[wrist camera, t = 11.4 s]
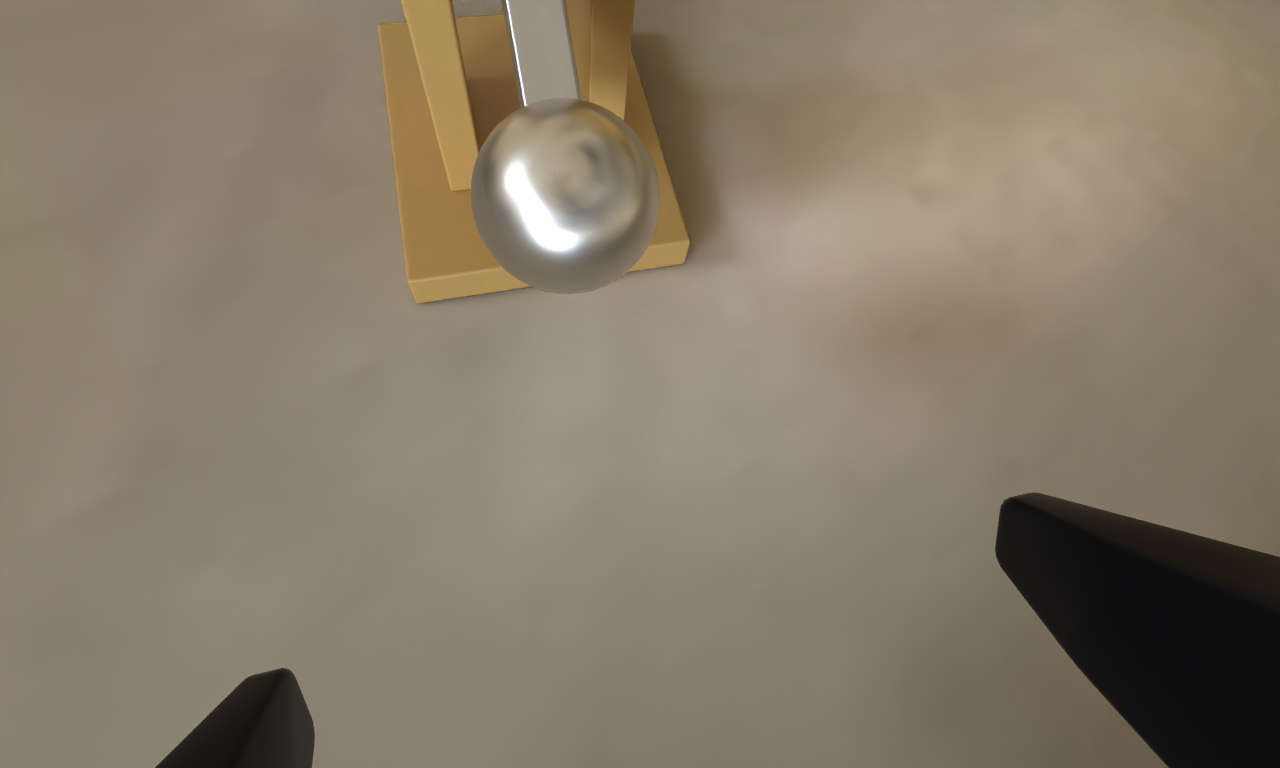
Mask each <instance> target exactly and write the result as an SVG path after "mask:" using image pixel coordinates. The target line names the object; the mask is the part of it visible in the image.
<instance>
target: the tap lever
mask: <svg viewBox="0 0 1280 768" xmlns="http://www.w3.org/2000/svg"><path fill="white" fill-rule="evenodd" d="M501 2H502V7H503V13H504V19H505V24H506V30H507V36H508V41H509V47H510V53H511V58H512V64H513V70H514V75H515V81H516V87H517V93H518V98H519V104H520V109H518V110H516V111H515V112H513V113H512V114H510V115H509V116H507V117H506V118H505V119H504V120H503V121H501V122H500V123H499V124H498V125H497V126H496V127H495V129H494V130H493V131H492V132H491V133H490V135H489V136H488V138H487V139H486V141H485V142H484V144H483V146H482V147H481V150H480V152H479V154H478V156H477V158H476V161H475V165H474V168H473V172H472V179H471V207H472V213H473V217H474V221H475V225H476V228H477V230H478V233H479V235H480V237H481V239H482V241H483V243H484V245H485V246H486V248H487V249H488V251H489V252H490V253H491V255H492V256H493V258H494V259H495V260H496V261H497V262H498V263H499V264H500V265H501V266H502V267H503V268H504V269H505V270H506V271H507V272H509V273H510V274H511V275H512V276H514V277H515V278H517V279H518V280H520V281H522V282H523V283H525V284H527V285H530V286H532V287H534V288H537V289H540V290H543V291H547V292H552V293H558V294H576V293H584V292H588V291H593V290H596V289H599V288H601V287H604V286H607V285H608V284H610V283H612V282H614V281H616V280H617V279H619V278H620V277H622V276H623V275H624V274H626V273H627V272H628V271H629V270H630V269H631V268H632V267H633V266H634V265H635V264H636V263H637V262H638V260H639V259H640V258H641V257H642V255H643V254H644V252H645V250H646V249H647V247H648V246H649V244H650V242H651V239H652V237H653V235H654V233H655V229H656V226H657V222H658V217H659V210H660V188H659V180H658V176H657V172H656V168H655V166H654V163H653V160H652V158H651V156H650V154H649V152H648V150H647V148H646V146H645V145H644V143H643V142H642V140H641V139H640V137H639V136H638V135H637V134H636V132H635V131H634V130H633V129H632V128H631V127H630V126H629V125H628V124H627V123H626V122H625V121H624V120H623V119H621V118H620V117H618V116H617V115H616V114H614V113H613V112H611V111H609V110H607V109H606V108H604V107H602V106H599V105H597V104H594V103H591V102H588V101H584V100H582V98H581V92H580V86H579V80H578V74H577V68H576V62H575V56H574V51H573V45H572V39H571V33H570V27H569V21H568V15H567V9H566V3H565V0H501Z"/></svg>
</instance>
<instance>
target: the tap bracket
mask: <svg viewBox="0 0 1280 768" xmlns="http://www.w3.org/2000/svg"><path fill="white" fill-rule="evenodd" d="M401 3H402V7H403V11H404V14H405V18H406V22H396V23H383V24H379V26H378V30H379V39H380V47H381V56H382V65H383V74H384V82H385V91H386V100H387V109H388V117H389V126H390V135H391V143H392V152H393V161H394V170H395V178H396V187H397V196H398V205H399V213H400V222H401V231H402V240H403V248H404V257H405V266H406V275H407V282H408V284H409V286H410V289H411V291H412V293H413V296H414V298H415V300H416V302H417V303H425V302H431V301H438V300H445V299H451V298H458V297H465V296H471V295H478V294H485V293H491V292H498V291H505V290H511V289H518V288H525V287H531V286H530V285H527V284H525V283H523V282H522V281H520V280H518V279H517V278H515V277H514V276H512V275H511V274H510V273H509V272H507V271H506V270H505V269H504V268H503V267H502V266H501V265H500V264H499V263H498V262H497V261H496V260H495V259H494V258H493V256H492V255H491V253H490V252H489V251H488V249H487V248H486V246H485V245H484V243H483V241H482V239H481V237H480V235H479V233H478V230H477V228H476V225H475V221H474V217H473V213H472V207H471V179H472V172H473V168H474V165H475V161H476V158H477V156H478V154H479V152H480V150H481V147H482V146H483V144H484V142H485V141H486V139H487V138H488V136H489V135H490V133H491V132H492V131H493V130H494V129H495V127H496V126H497V125H498V124H499V123H500V122H501V121H503V120H504V119H505V118H506V117H507V116H509V115H510V114H512V113H513V112H515V111H516V110H518V109H520V104H519V98H518V93H517V87H516V81H515V75H514V70H513V64H512V58H511V53H510V47H509V41H508V36H507V30H506V24H505V19H504V14H499V15H486V16H473V17H460V18H455V14H454V8H453V3H452V0H401ZM565 3H566V9H567V15H568V21H569V27H570V33H571V39H572V45H573V51H574V56H575V62H576V68H577V74H578V80H579V86H580V92H581V98H582V100H584V101H588V102H591V103H594V104H597V105H599V106H602V107H604V108H606V109H607V110H609V111H611V112H613V113H614V114H616V115H617V116H618V117H620V118H621V119H623V120H624V121H625V122H626V123H627V124H628V125H629V126H630V127H631V128H632V129H633V130H634V131H635V132H636V134H637V135H638V136H639V137H640V139H641V140H642V142H643V143H644V145H645V146H646V148H647V150H648V152H649V154H650V156H651V158H652V160H653V163H654V166H655V168H656V172H657V176H658V180H659V188H660V210H659V217H658V222H657V226H656V229H655V233H654V235H653V237H652V239H651V242H650V244H649V246H648V247H647V249H646V250H645V252H644V254H643V255H642V257H641V258H640V259H639V260H638V262H637V263H636V264H635V265H634V266H633V267H632V268H631V269H630V270H629V271H628V272H631V271H638V270H645V269H651V268H658V267H665V266H671V265H678V264H683V263H685V260H686V256H687V252H688V249H689V245H690V238H689V235H688V231H687V228H686V225H685V222H684V219H683V215H682V212H681V209H680V206H679V203H678V199H677V196H676V193H675V190H674V186H673V183H672V180H671V177H670V174H669V170H668V167H667V164H666V161H665V158H664V154H663V151H662V148H661V145H660V142H659V138H658V135H657V132H656V129H655V126H654V122H653V119H652V116H651V113H650V110H649V106H648V103H647V100H646V97H645V94H644V90H643V87H642V84H641V81H640V78H639V74H638V71H637V68H636V65H635V62H634V58H633V55H632V52H631V39H632V27H633V16H634V5H635V0H565Z"/></svg>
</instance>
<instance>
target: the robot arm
mask: <svg viewBox="0 0 1280 768" xmlns="http://www.w3.org/2000/svg"><path fill="white" fill-rule="evenodd" d="M995 551H996V557H997V560H998V562H999V564H1000V566H1001V568H1002V569H1003V571H1004V572H1005V573H1006V575H1007V576H1008V577H1009V578H1010V580H1011V581H1012V582H1013V584H1014V585H1015V586H1016V588H1017V589H1018V590H1019V592H1020V593H1021V594H1022V595H1023V597H1024V598H1025V599H1026V601H1027V602H1028V603H1029V605H1030V606H1031V607H1032V609H1033V610H1034V611H1035V613H1036V614H1037V615H1038V616H1039V618H1040V619H1041V620H1042V622H1043V623H1044V624H1045V626H1046V627H1047V628H1048V630H1049V631H1050V632H1051V634H1052V635H1053V636H1054V637H1055V639H1056V640H1057V641H1058V643H1059V644H1060V645H1061V647H1062V648H1063V649H1064V650H1065V652H1066V653H1067V654H1068V655H1069V657H1070V658H1071V659H1072V660H1073V662H1074V663H1075V664H1076V665H1077V667H1078V668H1079V669H1080V670H1081V671H1082V672H1083V674H1084V675H1085V676H1086V677H1087V678H1088V679H1089V680H1090V682H1091V683H1092V684H1093V685H1094V686H1095V687H1096V688H1097V689H1098V690H1099V692H1100V693H1101V694H1102V695H1103V696H1104V697H1105V698H1106V699H1107V700H1108V701H1109V703H1110V704H1111V705H1112V706H1113V707H1114V708H1115V709H1116V710H1117V711H1118V712H1119V714H1120V715H1121V716H1122V717H1123V718H1124V719H1125V720H1126V721H1127V722H1128V723H1129V725H1130V726H1131V727H1132V728H1133V729H1134V730H1135V731H1136V732H1137V733H1138V734H1139V736H1140V737H1141V738H1142V739H1143V740H1144V741H1145V742H1146V743H1147V744H1148V745H1149V747H1150V748H1151V749H1152V750H1153V751H1154V752H1155V753H1156V754H1157V755H1158V756H1159V758H1160V759H1161V760H1162V761H1163V762H1164V763H1165V764H1166V765H1167V766H1168V767H1169V768H1280V557H1277V556H1274V555H1270V554H1266V553H1262V552H1258V551H1255V550H1251V549H1247V548H1243V547H1240V546H1236V545H1232V544H1228V543H1225V542H1221V541H1217V540H1213V539H1210V538H1206V537H1202V536H1198V535H1195V534H1191V533H1187V532H1183V531H1180V530H1176V529H1172V528H1168V527H1165V526H1161V525H1157V524H1153V523H1150V522H1146V521H1142V520H1138V519H1135V518H1131V517H1127V516H1123V515H1119V514H1116V513H1112V512H1108V511H1104V510H1101V509H1097V508H1093V507H1089V506H1086V505H1082V504H1078V503H1074V502H1071V501H1067V500H1063V499H1059V498H1056V497H1052V496H1048V495H1044V494H1041V493H1026V494H1022V495H1018V496H1014V497H1010V498H1008V499H1006V500H1004V502H1003V504H1002V505H1001V508H1000V515H999V522H998V530H997V538H996V546H995ZM314 742H315V733H314V725H313V721H312V718H311V715H310V713H309V710H308V708H307V705H306V703H305V700H304V698H303V695H302V693H301V690H300V687H299V685H298V682H297V680H296V678H295V676H294V674H293V673H292V672H291V671H290V670H289V669H285V668H281V669H277V670H272V671H268V672H264V673H260V674H255V675H252V676H250V677H248V678H246V679H245V680H244V681H243V682H241V683H240V684H239V685H238V686H237V687H236V688H235V689H234V690H233V691H232V692H231V693H230V694H229V695H228V696H227V697H226V698H225V699H224V700H223V701H222V702H221V703H220V704H219V705H218V706H217V707H216V708H215V709H214V710H213V711H212V712H211V713H210V714H209V715H208V716H207V717H206V718H205V719H204V720H203V721H202V722H201V723H200V724H199V725H198V726H197V727H196V728H195V729H194V730H193V731H192V732H191V733H190V734H189V735H188V736H187V737H186V738H185V739H184V740H183V741H182V742H181V743H180V744H179V745H178V746H177V747H176V748H175V749H174V750H173V751H172V752H170V753H169V754H168V755H167V756H166V757H165V758H164V759H163V760H162V761H161V762H160V763H159V764H158V765H157V766H156V767H155V768H312V761H313V752H314Z"/></svg>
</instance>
